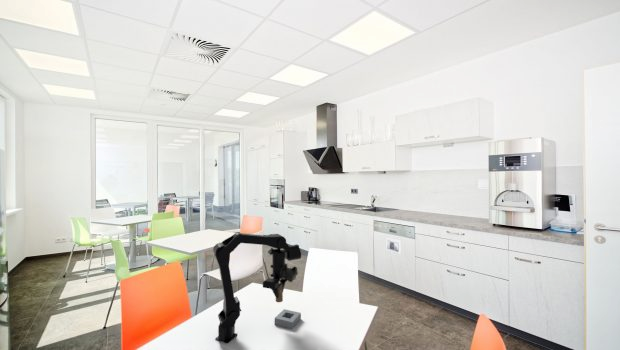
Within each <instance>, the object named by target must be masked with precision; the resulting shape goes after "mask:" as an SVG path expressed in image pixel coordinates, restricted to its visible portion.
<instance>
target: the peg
mask: <svg viewBox="0 0 620 350" xmlns="http://www.w3.org/2000/svg"><path fill="white" fill-rule="evenodd" d="M280 284H282V282H280ZM283 295H284V290H283V285H281V286H280V288H279V298H276V297H275V302H276V303H282V302H283V301H284V300H283V297H284V296H283Z"/></svg>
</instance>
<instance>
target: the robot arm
mask: <svg viewBox="0 0 620 350" xmlns="http://www.w3.org/2000/svg"><path fill="white" fill-rule="evenodd" d="M241 244H247V245H248V244H249V245H260V246H261V245H262V246H267V247H270V249H269V250H268V251H267V253H268V254H269V255H272V257H271V259H272V264H270V268H272V273H271V274H270V277H271V278H270V277H268V278H266V279H265V280H264V281H262V288H263V289H270V290H271V291H272V293H273V295H274V297H275V299H276V298H279V288H280V286H281V285H283V291H284V290H285V285H286V283H287V282H289V283H293V282H294V281H295V280H296V277H297V276H298V275H299V273H298V267H297V266H293V267H288V264H287V263H286V260H287V261H288V262H290V261H291V262H292V261H297V260H300V259H301V258H302V251H301V248H300V245H299V244H292V245H288V243H287V239H286V238H285V236H284V235H281V234H278V233H272V234H267V235H266V234H252V233H242V232H235V233H234V234H233V235H231V236H229V237H227V238H226V239H224V240H222V242H218V243H216V244H215V245H214V246H213V247H212V251H213V255H214V257H215V260H216V263H217V265H218V268H219V274H220V276H219V277H220V279H221V280H220V281H221V287H222V293H223V302H222V305H223V306H222V310H221V311H220V312H219V313H218V314H217V317H218V320H219V324H218V330H217V331H218V336H216V337H215V338H214V339H215V341H218V342H222V343H224V344H229V343H230V342H231V341H232V340H234V339H235V338H236V337H237V336H238V333H236V332H235V330H236V327H235V325H236V322H237V320H238V319H239V317H240V315H241V312H242V309H241V303H240V302H241V301H240V300H239V299H238V298H239V297H238V296H235V295H234V289H233V283H232V282H233V281H232V277H231V271H230V270H231V269H230V260H231V253H232V252H234V251H235V250H236V249H237V247H238V246H239V245H241ZM280 282H282V284H280Z"/></svg>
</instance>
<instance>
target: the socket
mask: <svg viewBox="0 0 620 350" xmlns="http://www.w3.org/2000/svg"><path fill="white" fill-rule="evenodd" d="M301 320H302V313H301V312H297V311H294V310H289V309H285V308H284V309H282V310H281V311H280V312H279V313H278V314H277V315H276V316H275V317H274V325H275V326H278V327H283V328H287V329H291V330H293V329H294V328H295V326H296V325H297V324H298V323H299V322H300V321H301Z"/></svg>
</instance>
